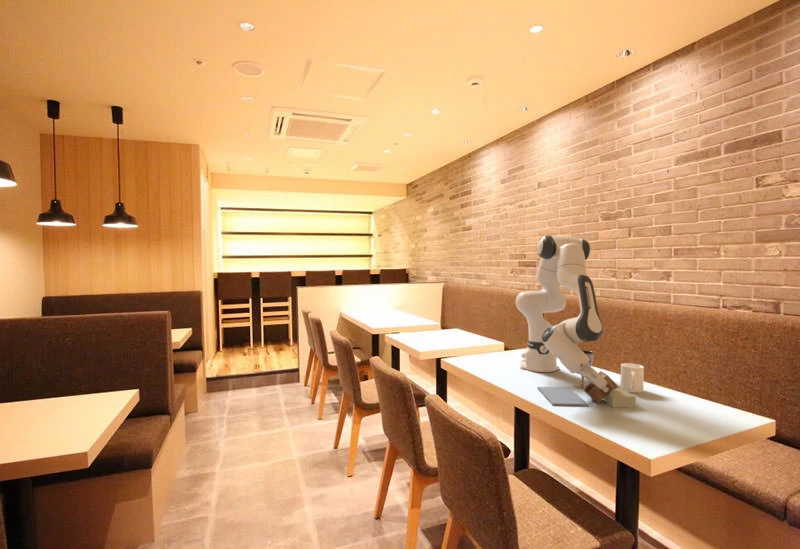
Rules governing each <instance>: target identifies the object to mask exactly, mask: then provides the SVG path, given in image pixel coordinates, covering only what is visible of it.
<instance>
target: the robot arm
mask: <svg viewBox="0 0 800 549" xmlns="http://www.w3.org/2000/svg"><path fill="white" fill-rule="evenodd" d="M536 247H537V255H538V256H539V257H540V261H539V263H538V267H537V271H536V274H535V280H536V282H537V283H538V284H539V285H540V286H541V290H526V291H521V292H519V293H517V296H516V298H515V306H516V308H517V309H518V312H520V313H522V315H524V317H525V319H526V322H527V326H528V340H527V342H526V343H527V344H526V345H527V346H526V349H525V351H524V352H523V353H521V358H522V359H520V360H519V365H520V369H522V370H528V371H532V372H536V373H537V372H538V373H553V372H555V371H559V370H560V369H561V368H560V366H559V365H557V359H558V360H559V361H560V363H561V364H562V365H563V366H564V367H565V368H566V370H568V372H570V373H571V374H577V375H580V376H583V377H584V379H586V380H587V381H588V382H589V383H590V382H591V383H592V384H594V385H595V386H597V387H598V388H599V389H602V390H603V391H604V392H607V391H608V390H609V389H608V388H607V387H606V385H607V381H606V380H605V379H604V378H603V377H602V376H601V375H600V374H599V372H598V371H597V370H595V369H594V368H593V367H592V366H591V367H590V366H589V365H590V363H589V357H588V356H587V355H586V354H585V353H584V352H583V351H582V350H583V349H581V348H580V347H579V344H580V343H583V342H595V341H598V340H599V339H600V338H601V337H602V335H603V333H604V325H603V322H602V319H601V316H600V313H599V308H598V303H597V297H596V292H595V288H594V283H593V281H592V279H591V278H590V276H588V273H587V264H586V263H587V262H586V260H588V258H589V256H590V254H591V245H590V244H589V241H587V240H586V239H582V238H576V237H571V236H559V235H557V236H555V235H554V236H552V235H544V236H542V237H540V239H539V240H538V243H537V246H536ZM560 286H561V287H563V288H564V289H566V290H570V291H575V292H576V294H577V297H578V304H579V311H580V312H579V315H578V316H576V317H571V318H567V319H565V320H562V321H561V322H560V323H558V324H555V325H552V324H551V323H550V322H549V321H547V320H546V319H545V318H544V315H543V314H546V313H547V314H549V313H550V314H551V313H552V314H553V313H556V312H557V313H558V312H560V311H563V310H564V309H565V308H566V305H567V298H566V296H565V294H564V293H563V292H562V290H561V287H560Z"/></svg>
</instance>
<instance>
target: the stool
mask: <svg viewBox="0 0 800 549" xmlns="http://www.w3.org/2000/svg"><path fill="white" fill-rule="evenodd" d="M598 373H599V374H600V375H601V376H602V377H603V378H604V379H605V380H606V381H607V385H606V387H607V388H608V389H609V390H608V391H607V392H604V391H603V390H602V389H599V388H598V387H597V386H595V385H594V384H592V383H591V382H590V381H589V383H588V384H586V385H587V386H586V387H585V388H584V389H582V390H583V391H584V392H585V393H586V394H587V395H588V396H589V397H590V398H591V399H592V400H594V402H595V403H597V404H599V403H600V402H601V401H603V398H604V397H606V396H607V395H608V394H609V393H610V392H611V391H612V390H613V389H614V390H615V389H616V388H617V387H619V385H618V384H617V383H616V382H615V381H614V380H613V379H612V378H611V377H610V376H609V375H608V374H607V373H606V372H604V371H601V370H600V371H599V372H598Z"/></svg>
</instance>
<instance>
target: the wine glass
mask: <svg viewBox="0 0 800 549" xmlns="http://www.w3.org/2000/svg"><path fill="white" fill-rule="evenodd" d="M581 350H582V351H583V352H584V353H585V354H586V355H587V356H588V357H589V363H590V365H589V366H590V367H591V368H592V366H593V362H594V352H593V351H592V350H587V349H586V350H585V349H581ZM580 376H581V375H580ZM580 378H581V383H576V384H573V387H574V388H576V389H580V390H583V389H584V388H585V387H586V386H587V385H588V384H585V383H584V379H585V378H584V377H583V376H581V377H580Z"/></svg>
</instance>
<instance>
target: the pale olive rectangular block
mask: <svg viewBox="0 0 800 549" xmlns="http://www.w3.org/2000/svg"><path fill="white" fill-rule="evenodd" d="M636 398H637V396H635V395H634V394H633V393H631V392H628V391H626V390H624V389H623V388H621V386H618V387H617V388H616V389H615V390H614V389H613V390H612V391H611V392H610V393H609V394H608V395H607V396H606V397H604V398H603V399H602V401H604V402H606V403H607V404H608V405H610V406H611V407H614V408H636Z"/></svg>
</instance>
